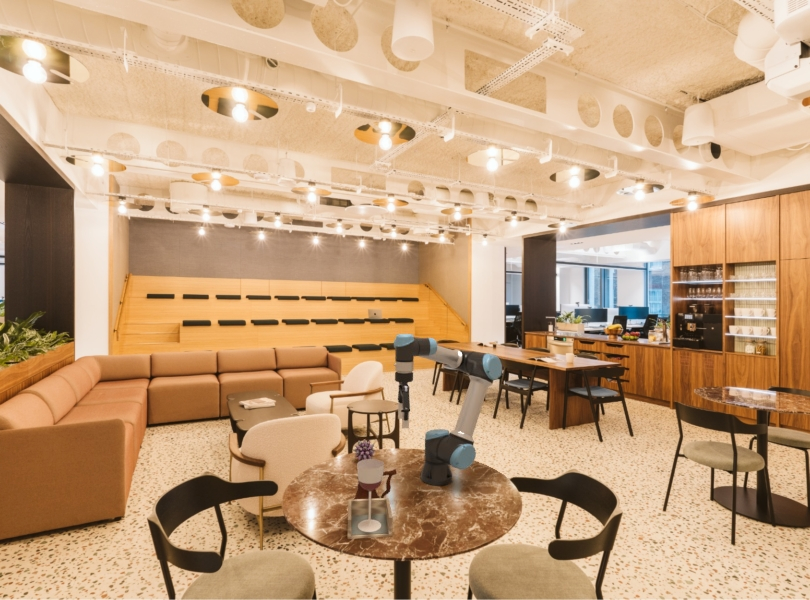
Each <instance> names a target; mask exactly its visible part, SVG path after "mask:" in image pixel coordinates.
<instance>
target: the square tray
mask: <svg viewBox="0 0 810 600" xmlns="http://www.w3.org/2000/svg"><path fill="white" fill-rule="evenodd" d="M353 499H354V498H353ZM353 499H348V500H347V540H351V539H353V540H354V539H355V540H356V539H368V538H369V539H372V538H389V537H390V538H391V537H393V519H394V518H393V513H392V507H391V502H390V498H389V497H384V498H381V497H380V498H376V499H371V520H376V521H378V522H380V523H381V527H380V529H378V530H377V531H373V532H365V531H362V530H360V529H359V528H358V524H359V523H360V522H361V521H364V520H368V516H369V499H354V500H353Z"/></svg>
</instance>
